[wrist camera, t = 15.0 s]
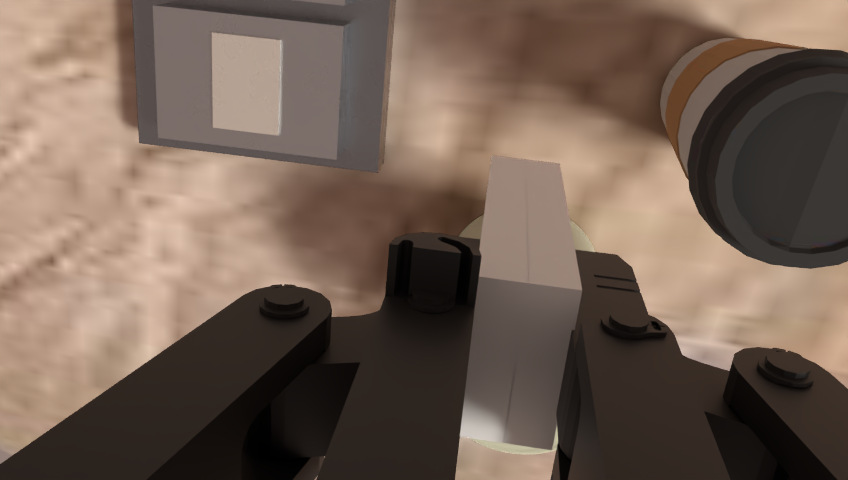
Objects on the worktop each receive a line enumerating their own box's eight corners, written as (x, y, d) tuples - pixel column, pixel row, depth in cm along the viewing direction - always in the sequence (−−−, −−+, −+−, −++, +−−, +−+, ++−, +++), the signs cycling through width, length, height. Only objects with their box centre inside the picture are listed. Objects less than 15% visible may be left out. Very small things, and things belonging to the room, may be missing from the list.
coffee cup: (621, 154, 43) (670, 255, 29) (665, 2, 40) (744, 34, 26) (768, 184, 42) (889, 302, 29) (825, 34, 39) (991, 84, 25)
